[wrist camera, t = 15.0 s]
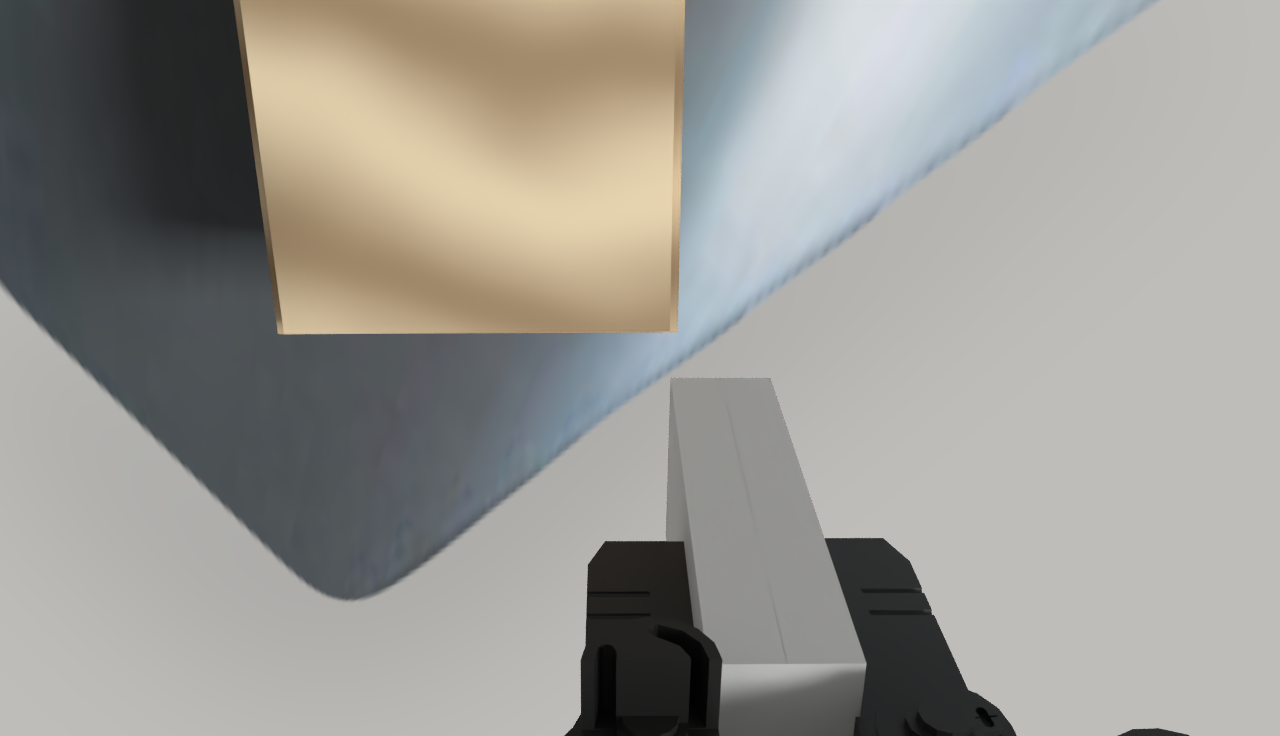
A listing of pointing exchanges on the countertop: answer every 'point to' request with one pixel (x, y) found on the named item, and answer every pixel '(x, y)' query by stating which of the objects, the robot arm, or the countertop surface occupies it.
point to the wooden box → (673, 328)
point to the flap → (467, 163)
